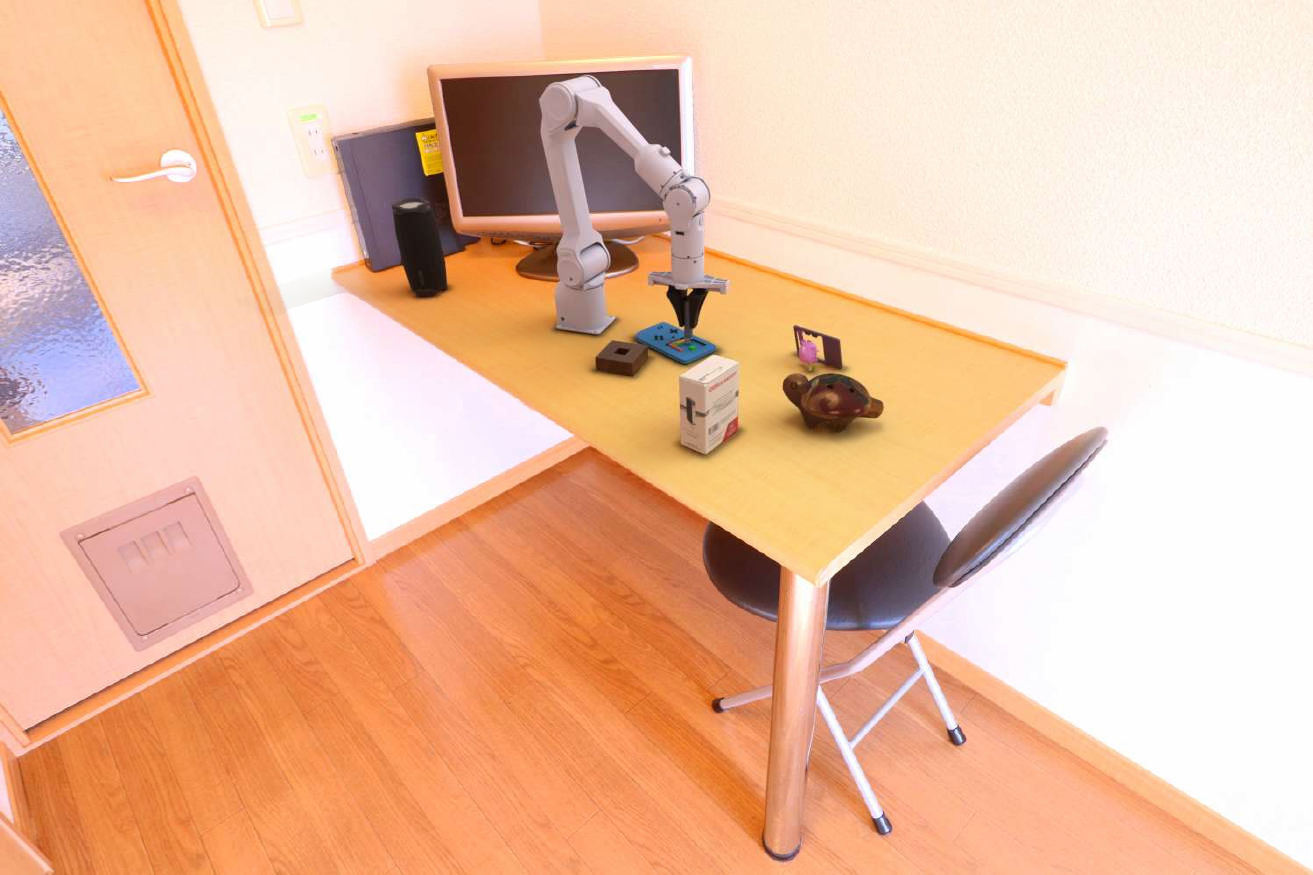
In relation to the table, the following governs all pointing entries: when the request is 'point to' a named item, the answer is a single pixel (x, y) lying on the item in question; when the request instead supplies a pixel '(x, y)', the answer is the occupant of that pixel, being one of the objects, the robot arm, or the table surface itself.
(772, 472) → the table surface
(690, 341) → the dark grey cylinder rod
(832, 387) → the decorative turtle
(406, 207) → the portable speaker
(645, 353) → the brown block with hole
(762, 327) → the table surface
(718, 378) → the ink box
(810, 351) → the purple frame with figurine
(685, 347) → the handheld gaming device
